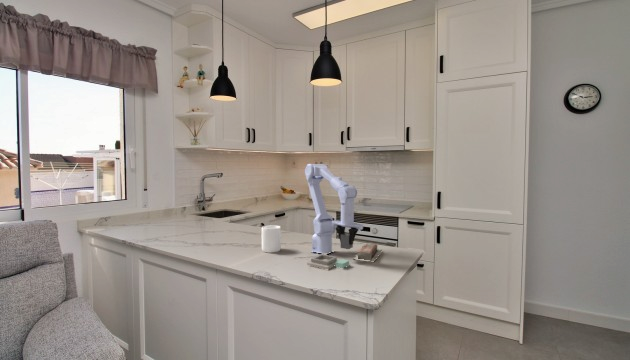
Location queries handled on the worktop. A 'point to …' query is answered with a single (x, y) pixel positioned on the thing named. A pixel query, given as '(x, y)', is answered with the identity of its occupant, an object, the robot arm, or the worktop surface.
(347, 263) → the cable plug
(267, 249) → the mug
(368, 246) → the packaged product
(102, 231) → the worktop surface
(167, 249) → the worktop surface
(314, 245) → the robot arm
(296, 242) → the worktop surface
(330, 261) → the plate
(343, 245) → the block
